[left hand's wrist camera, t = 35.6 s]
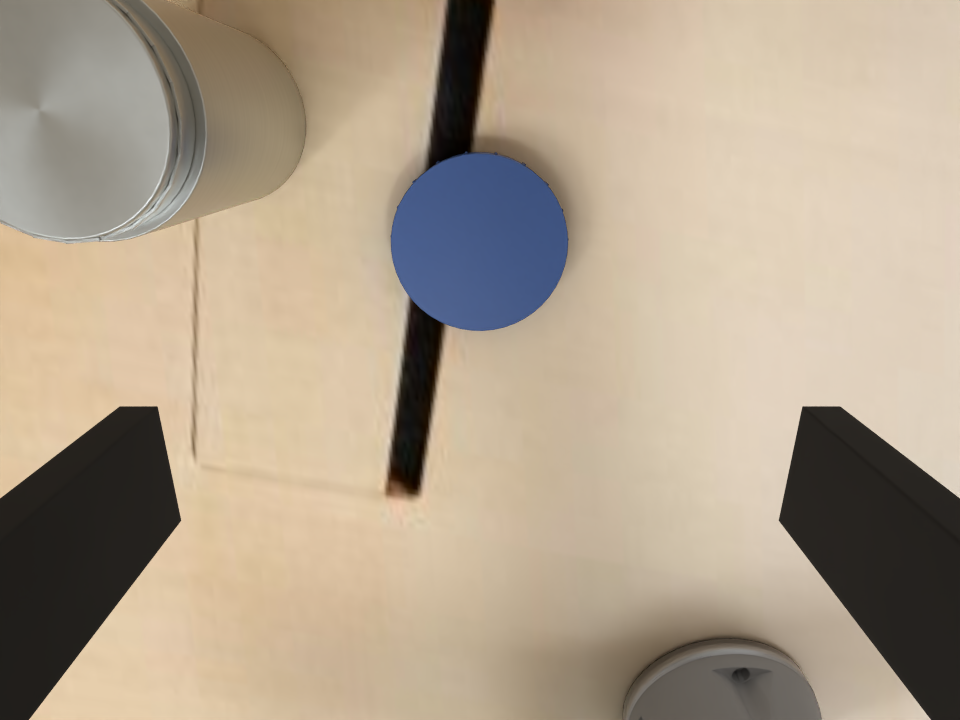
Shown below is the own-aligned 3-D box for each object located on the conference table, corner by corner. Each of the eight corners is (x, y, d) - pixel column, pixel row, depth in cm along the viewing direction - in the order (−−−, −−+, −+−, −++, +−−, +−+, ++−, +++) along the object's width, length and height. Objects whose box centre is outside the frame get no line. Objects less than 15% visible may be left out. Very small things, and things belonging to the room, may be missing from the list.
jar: (118, 32, 33) (-162, -42, 18) (289, 17, 33) (139, -71, 18) (163, 208, 36) (-44, 261, 22) (319, 196, 36) (212, 240, 22)
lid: (454, 350, 39) (452, 362, 37) (360, 213, 36) (353, 218, 34) (593, 267, 37) (600, 275, 35) (507, 115, 34) (509, 113, 32)
